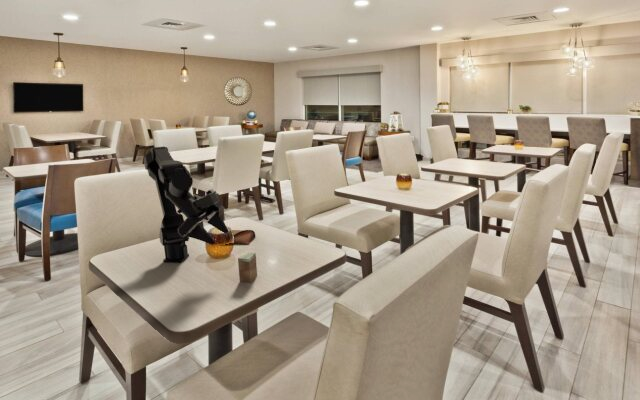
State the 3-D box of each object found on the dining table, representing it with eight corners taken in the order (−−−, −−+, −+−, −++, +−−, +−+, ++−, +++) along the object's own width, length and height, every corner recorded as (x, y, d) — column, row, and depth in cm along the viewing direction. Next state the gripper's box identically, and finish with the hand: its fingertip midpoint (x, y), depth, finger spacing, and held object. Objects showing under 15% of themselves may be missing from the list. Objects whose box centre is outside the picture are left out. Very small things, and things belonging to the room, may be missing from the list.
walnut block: (239, 281, 124) (237, 258, 122) (246, 274, 128) (244, 252, 126) (250, 282, 123) (249, 259, 121) (257, 275, 127) (255, 252, 126)
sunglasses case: (203, 244, 156) (205, 226, 158) (209, 247, 163) (211, 230, 165) (250, 244, 154) (251, 227, 156) (254, 248, 161) (256, 231, 163)
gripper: (183, 191, 113) (224, 232, 114) (214, 176, 130) (249, 211, 131) (160, 216, 117) (200, 256, 117) (193, 199, 134) (227, 233, 135)
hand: (221, 238), depth 125 cm, fingers open, 9 cm apart
